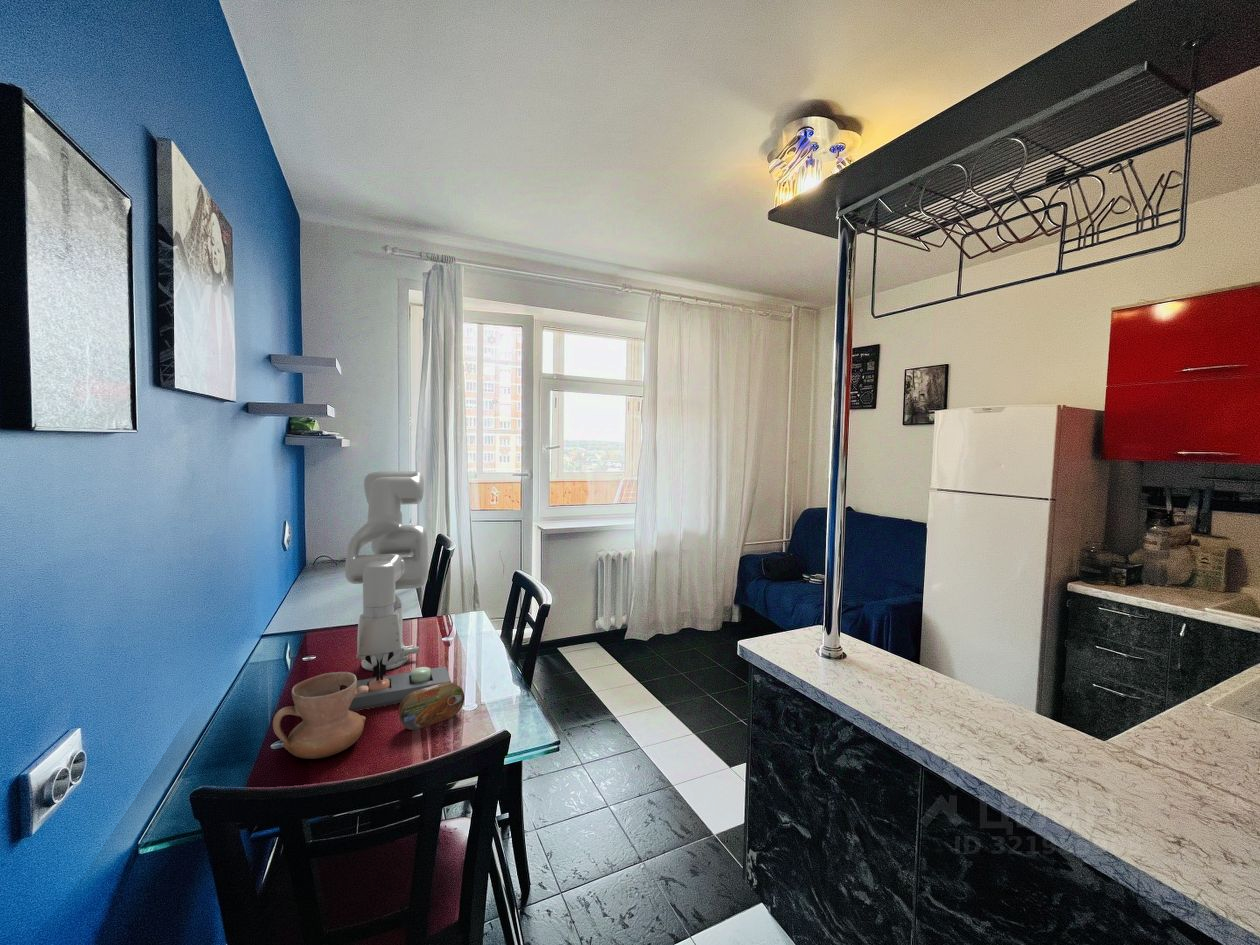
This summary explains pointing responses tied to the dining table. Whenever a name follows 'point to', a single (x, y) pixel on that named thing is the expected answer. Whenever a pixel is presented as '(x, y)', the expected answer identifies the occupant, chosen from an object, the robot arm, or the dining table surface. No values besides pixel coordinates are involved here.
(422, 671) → the sage button
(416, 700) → the tin
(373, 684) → the terracotta button
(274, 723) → the ceramic jug
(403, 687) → the button panel
